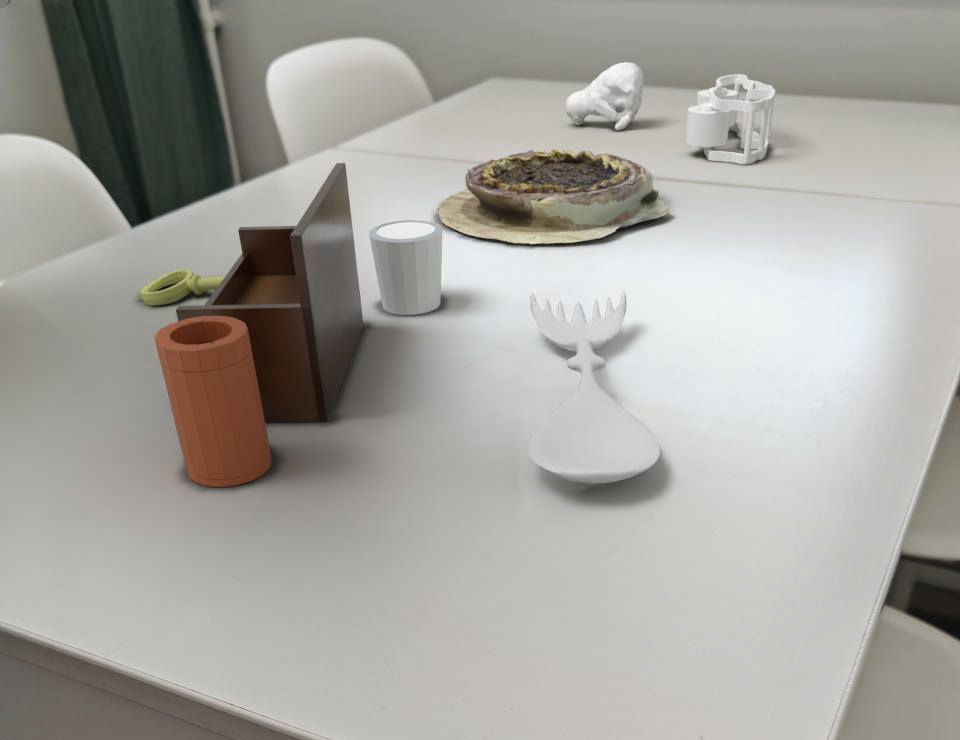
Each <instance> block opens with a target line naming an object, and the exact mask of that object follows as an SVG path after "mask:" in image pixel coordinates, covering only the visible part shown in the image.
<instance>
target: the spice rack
mask: <svg viewBox="0 0 960 740" xmlns="http://www.w3.org/2000/svg"><path fill="white" fill-rule="evenodd" d="M237 231H238V237H239V238H238V239H239V242H240V249H241V254H240V255H239V257H238V258H237V260H236V261H235V262H234V264H233V265H232V266H231V268H230V269H229V271H228V272H227V273H226V275H225V276H224V277H225V278H224V279H223V280H222V282H221V283H220V285H219V286H218V287H217V289H216V290H213V293H212V294H211V295H210V297H209V299H207V301H206V302H205V304H202V305H178V306H177V307H176V309H175V314H176V317H177V322H178V321H181V320H185V319H188V318H194V317H200V316H226V317H233V318H236V319H238V320H240V321H243V322H244V323H245V324H246V326H247V328H248V333H249V339H250V344H251V350H252V355H253V360H254V366H255V371H256V376H257V382H258V387H259V393H260V398H261V403H262V409H263V414H264V420H265V423H313V422H314V423H321V422H323V423H324V422H325V423H327V422H328V421H329V419H330V416H331V413H332V411H333V408H334V405H335V402H336V399H337V396H338V394H339V392H340V389H341V386H342V383H343V381H344V378H345V375H346V372H347V370H348V367H349V364H350V361H351V358H352V356H353V353H354V351H355V349H356V345H357V342H358V340H359V337H360V335H361V332H362V329H363V326H364V317H363V310H362V301H361V291H360V290H361V289H360V281H359V275H358V273H359V271H358V264H357V255H356V245H355V237H354V229H353V220H352V211H351V201H350V193H349V184H348V176H347V165H346V163H345V162H337V163H335V165H334V166H333V168H332V169H331V171H330V173H329V174H328V176H327V177H326V179H325V181H324V182H323V184H322V185H321V187H320V188H319V190H318V191H317V193H316V194H315V196H314V197H313V199H312V200H311V203H310V204H309V205H308V207H307V209H306V210H305V211H304V213H303V215H302V217H301V218H300V220H299V221H298V223H297V224H296V225H275V226H271V225H270V226H269V225H268V226H240V227H239V228H238V229H237Z"/></svg>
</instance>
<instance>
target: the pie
mask: <svg viewBox="0 0 960 740" xmlns="http://www.w3.org/2000/svg"><path fill="white" fill-rule="evenodd" d="M464 177H465V178H464V179H465V180H464V184H465V187H466V189H464V190H462V191H459V192H457V193H454V194H452V195H450V196H449V197H447V198H446V199H445V200H444V201H443V202H441V204H440V206H439V207H438V218H439V219H440V221H441V222H442V223H443V224H444V225H445V226H446V227H448V228H449V227H450V228H451V229H453V230H455V231H458V232H460V233H462V234H466V235H468V236H473V237H475V238H483V239H489V240H491V239H492V240H499V241H502V242H507V243H512V244H529V245H536V244H569V243H571V244H572V243H578V242H584V241H591V240H595V239H596V240H597V239H601V238H604V237H606V236H608V235H611V234H613V233H614V232H616V231H617V229H620V228H628V227H631V226H633V225H636V224H638V223H642V222H647V221H654V220H656V219H658V218H661V217H664V216H665V215H667V214H668V213H669V212H670V211H671V207H670V206H668V204H665V201H664V200H660V196H661V195H660V192H659V191H658V190H655V189H654V176H653V174H652V173H651V172H650V171H649V170H648V169H647V168H646V167H644V166H642V165H640V164H639V163H637V162H634V161H633V160H631V159H628V158H625V157H623V156H619V155H615V154H612V153H599V154H596V155H595V154H594V153H593V152H592V151H591V150H581V151H579V152H577V153H576V152H575V151H572V150H571V149H569V150H568V149H567V150H562V151H560V150H558V149H551V150H550V151H549V152H547V151H546V150H544V151H539V150H538V151H534V150H533V149H529V150H528V151H523V152H517V153H512V154H510V155H507V156H504V157H502V158H499V159H496V160H495V159H493V158H491V159H489V160H487V161H486V162H482V163H478V164H476V165H474V166H471V168H470V169H469V168H467V172H466V174H465V176H464Z"/></svg>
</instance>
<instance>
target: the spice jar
mask: <svg viewBox="0 0 960 740" xmlns="http://www.w3.org/2000/svg"><path fill="white" fill-rule="evenodd" d="M153 339H154V344H155V347H156V351H157V354H158V358H159V362H160V365H161V366H160V367H161V371H162V375H163V380H164V383H165V388H166V391H167V395H168V399H169V403H170V407H171V412H172V415H173V420H174V424H175V427H176V432H177V436H178V440H179V445H180V448H181V453H182V456H183V460H184V465H185V468H186V472H187V475H188V477H189V479H190V480H191V481H192V482H193V483H196V484H197V485H201V486H204V487H210V488H211V487H213V488H227V487H228V488H229V487H234V486H240V485H243V484H246V483H250V482H252V481H254V480H257V479H259V478H260V477H262V476H263V475H265V474H266V472H267V471H269V469H270V468H271V466H272V453H271V452H272V451H271V447H270V442H269V436H268V431H267V427H266V422H265V420H264V414H263V409H262V403H261V398H260V393H259V387H258V382H257V376H256V371H255V366H254V360H253V355H252V350H251V344H250V339H249V333H248V328H247V326H246V324H245V323H244V322H243V321H240V320H238V319H236V318H233V317H226V316H200V317H194V318H188V319H185V320H181V321H178V320H177V321H175V322H172V323H170V324H167V325H165V326H164V327H161V328H160V329H159V330H158V331H157V332H156V334H155V335H154V337H153Z"/></svg>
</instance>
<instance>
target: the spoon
mask: <svg viewBox="0 0 960 740" xmlns="http://www.w3.org/2000/svg"><path fill="white" fill-rule="evenodd" d="M529 298H530V300H529V307H530V311H531V315H532V317H533V319H534V322H535V324H536V326H537V329H538V330H539V331H540V333H541V334H542V335H543V337H544V338H546V339H547V341H549V342H550V343H553V344H554V345H556V346H558V347H559V348H562V349H565V350H568V351H571V352H576V353H575V355H574V356H572V357H570V358H568V359H567V360H566V363H565V364H566V367H567V368H568V369H570V370H572V371H574V372H578V373H580V380H579V382H578V385H577V387H576V388H575V389H574V391H573V392H572V393H571V394H570V395H569V396H568V397H566V399H564V400H563V401H562V402H561V403H560V404H559V406H557V407H556V408H555V409H554V410H553V411H552V412H550V413H549V414H548V415H547V416H546V417H545V418H543V420H542V421H540V423H538V424H537V426H536V427H535V429H534V430H533V432H532V434H531V437H530V438H529V439H530V440H529V442H528V455H529V457H530V458H531V460H532V461H533V462H534V463H535V464H536V465H537V466H538V467H540V468H541V469H542V470H544V471H545V472H547V473H548V474H551V475H554V476H556V477H559V478H562V479H564V480H569V481H572V482H578V483H585V484H608V483H609V484H611V483H615V482H619V481H624V480H627V479H630V478H632V477H635V476H637V475H640V474H643V473H644V472H646V471H647V470H649V469H650V468H651V467H652V466H653V465H654V464H655V463H656V462H657V461H658V460H659V458H660V455H661V448H660V445H659V443H658V441H657V439H656V437H655V435H654V433H653V432H652V430H651V429H650V428H649V426H647V424H646V423H645V422H643V421H642V420H641V419H640V418H638V417H637V416H636V415H634V414H633V413H631V412H630V411H629V410H628V409H626V408H625V407H624V406H623V405H621V404H620V403H619V402H618V401H616V399H614V398H613V397H611V396H610V395H609V394H608V393H607V392H606V391H605V390H603V389H602V387H601V386H600V384H599V383H598V381H597V378H596V377H595V373H594V372H596V371H599V370H602V369H603V368H605V367H606V365H607V361H606V359H605V358H604V357H602V356H600V355H596V354H595V352H594V350H596V349H598V348H601V347H602V346H604V345H606V344H607V343H609V342H610V341H612V340H613V339H614V338H615V337H616V336H617V334H618V333H619V332H620V331H621V329H622V326H623V324H624V321H625V316H626V312H627V307H628V305H627V302H628V301H627V293H626V291H625V290H622V292H621V294H620V299H619V302H618V306H617V307H615V309H614V307H613V303H612V299H611V297H610V296H608V297H607V299H606V305H605V306H606V307H605V312H604V316H603V317H602V316H601V312H600V307H599V303H598V300H597V299H595V300H594V301H593V302H594V303H593V309H592V316H591V320H590V323H589V324H588V322H587V319H586V316H585V311H584V308H583V305H582V304H581V303H580V302H579V301H576V303H575V305H574V307H573V311H572V316H571V322H570V323H568V321H567V319H566V314H565V311H564V306H563V303H562V301H561V300H558V304H557V313H556V314H557V315H556V316H554V314H553V311H552V307H551V305H550V302H549V301H550V300H549V299H548V298H545V303H544V307H543V309H542V308H541V307H540V305H539V304H538V301H537V299H536V295H534V293H531V294H530V297H529Z"/></svg>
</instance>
